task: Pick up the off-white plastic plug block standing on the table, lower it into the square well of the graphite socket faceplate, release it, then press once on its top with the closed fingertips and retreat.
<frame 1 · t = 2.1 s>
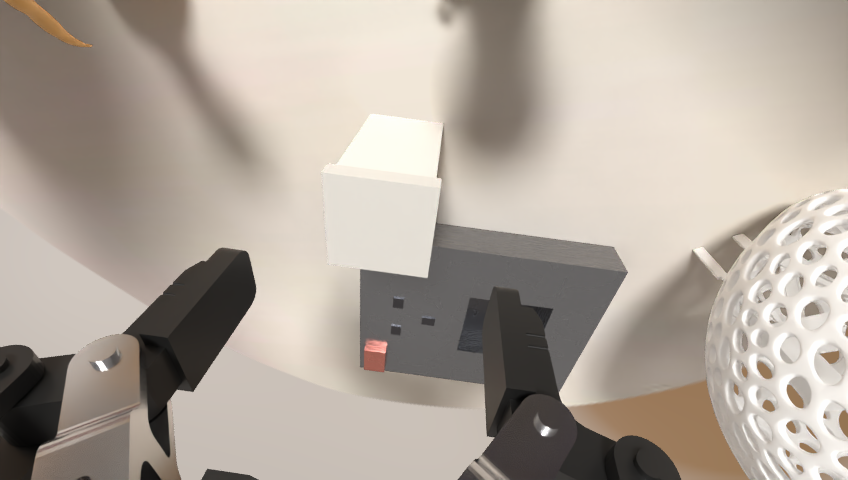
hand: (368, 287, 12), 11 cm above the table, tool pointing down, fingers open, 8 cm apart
decorative heart: (787, 218, 22), on the table
plug: (404, 153, 21), on the table
socket plate: (472, 301, 27), on the table
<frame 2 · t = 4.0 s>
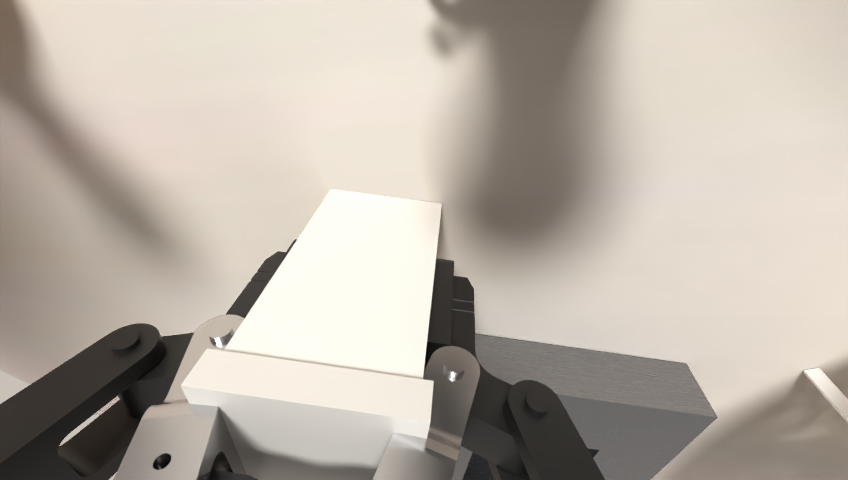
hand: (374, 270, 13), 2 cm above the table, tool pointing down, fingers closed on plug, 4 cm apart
plug: (384, 241, 14), on the table, touching gripper
socket plate: (482, 414, 20), on the table
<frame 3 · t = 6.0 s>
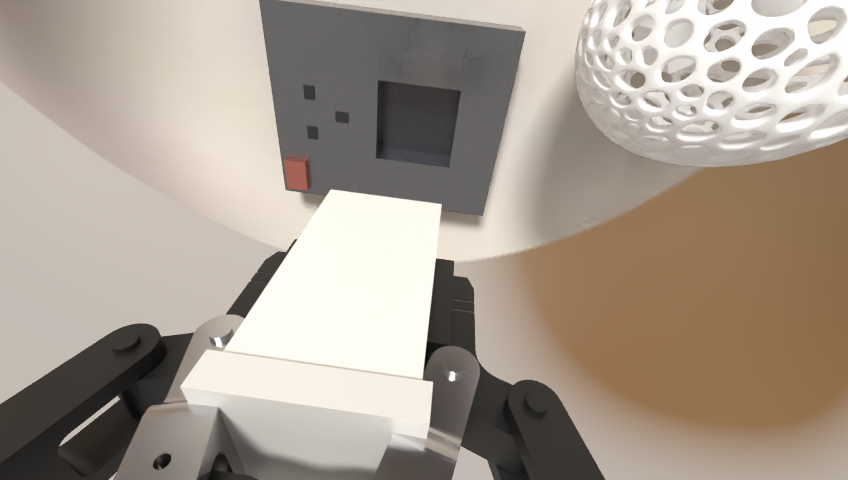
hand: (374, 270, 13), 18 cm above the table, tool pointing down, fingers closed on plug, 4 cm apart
plug: (384, 242, 14), point 16 cm above the table, touching gripper
socket plate: (392, 112, 27), on the table
when the fingers open (4 cm above the table, at t = 8.2 s): plug drops 2 cm, resting on socket plate.
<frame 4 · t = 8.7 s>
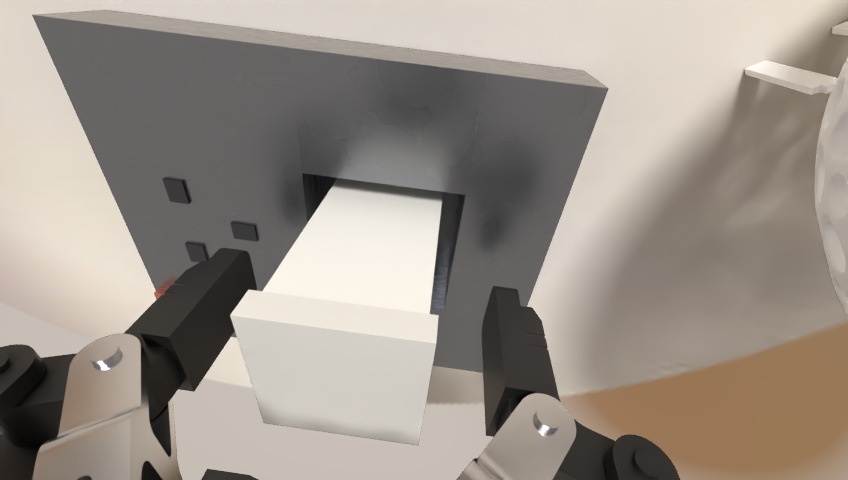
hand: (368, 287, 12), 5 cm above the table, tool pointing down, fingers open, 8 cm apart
plug: (391, 218, 15), resting on socket plate
socket plate: (346, 209, 16), on the table
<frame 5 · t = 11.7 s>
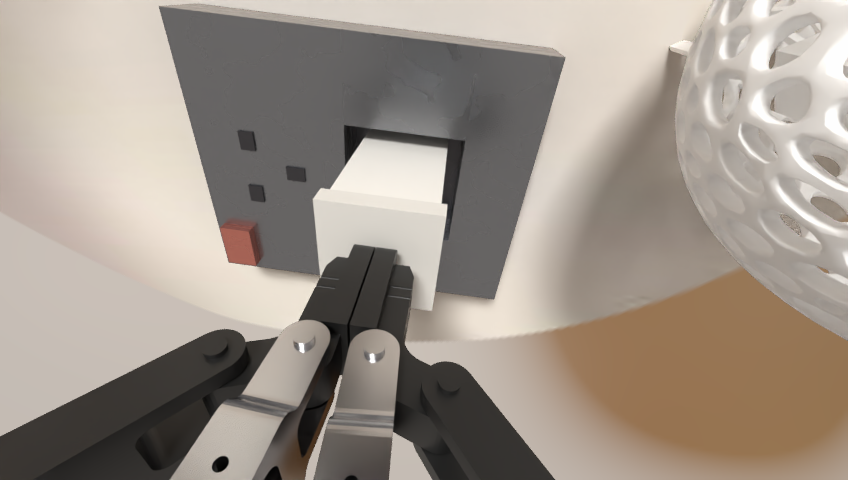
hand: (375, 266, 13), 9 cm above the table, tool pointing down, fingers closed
plug: (407, 169, 20), resting on socket plate
socket plate: (371, 162, 20), on the table
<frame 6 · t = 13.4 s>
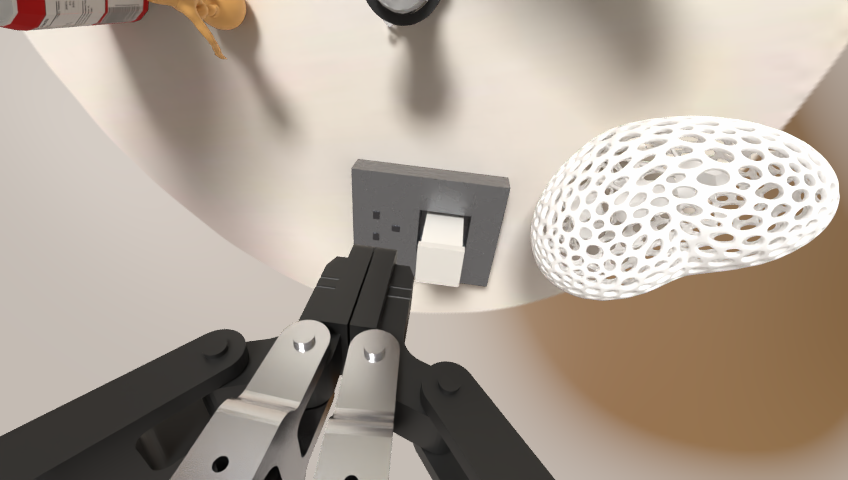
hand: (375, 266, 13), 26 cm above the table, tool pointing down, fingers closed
decorative heart: (607, 155, 36), on the table
plug: (444, 224, 42), resting on socket plate
socket plate: (426, 220, 42), on the table
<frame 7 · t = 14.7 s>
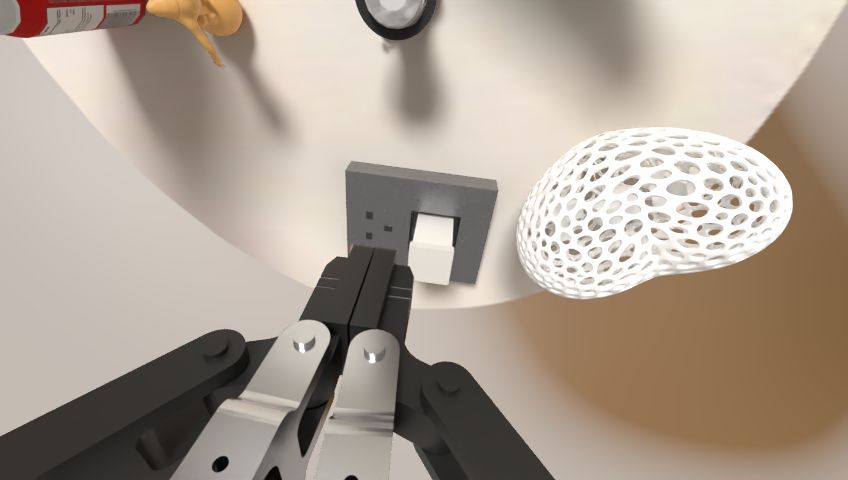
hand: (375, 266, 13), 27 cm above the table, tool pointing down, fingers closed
decorative heart: (589, 160, 38), on the table
plug: (434, 224, 43), resting on socket plate
figurine: (239, 4, 32), on the table
socket plate: (418, 220, 44), on the table
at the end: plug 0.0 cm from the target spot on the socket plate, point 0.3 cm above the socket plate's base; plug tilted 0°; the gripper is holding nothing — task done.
